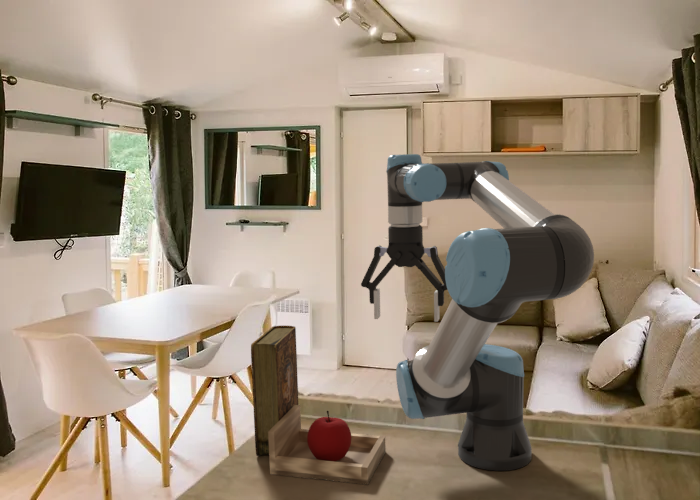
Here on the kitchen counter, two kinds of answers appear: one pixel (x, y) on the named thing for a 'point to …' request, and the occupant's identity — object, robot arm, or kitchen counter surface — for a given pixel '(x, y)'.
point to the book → (273, 380)
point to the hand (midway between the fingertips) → (406, 319)
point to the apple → (329, 438)
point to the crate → (298, 461)
